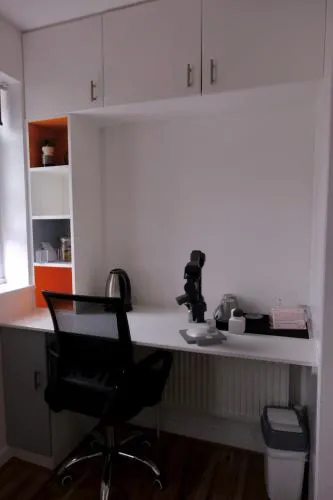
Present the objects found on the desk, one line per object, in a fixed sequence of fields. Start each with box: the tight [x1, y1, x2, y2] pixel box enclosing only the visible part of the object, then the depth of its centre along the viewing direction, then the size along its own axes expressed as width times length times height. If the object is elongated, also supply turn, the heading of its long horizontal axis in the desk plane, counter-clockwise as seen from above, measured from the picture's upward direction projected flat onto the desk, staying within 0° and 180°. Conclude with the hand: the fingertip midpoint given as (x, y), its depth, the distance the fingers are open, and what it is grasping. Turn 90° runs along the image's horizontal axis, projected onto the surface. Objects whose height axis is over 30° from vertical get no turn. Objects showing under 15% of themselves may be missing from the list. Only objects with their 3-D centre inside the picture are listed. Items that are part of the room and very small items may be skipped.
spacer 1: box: [187, 309, 198, 324], centre depth 163 cm, size 4×4×6 cm
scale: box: [178, 326, 228, 347], centre depth 163 cm, size 20×20×3 cm
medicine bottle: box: [228, 308, 246, 335], centre depth 171 cm, size 7×7×12 cm
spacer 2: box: [206, 318, 217, 333], centre depth 166 cm, size 4×4×6 cm
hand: (192, 319), depth 164 cm, fingers closed on spacer 1, 4 cm apart
